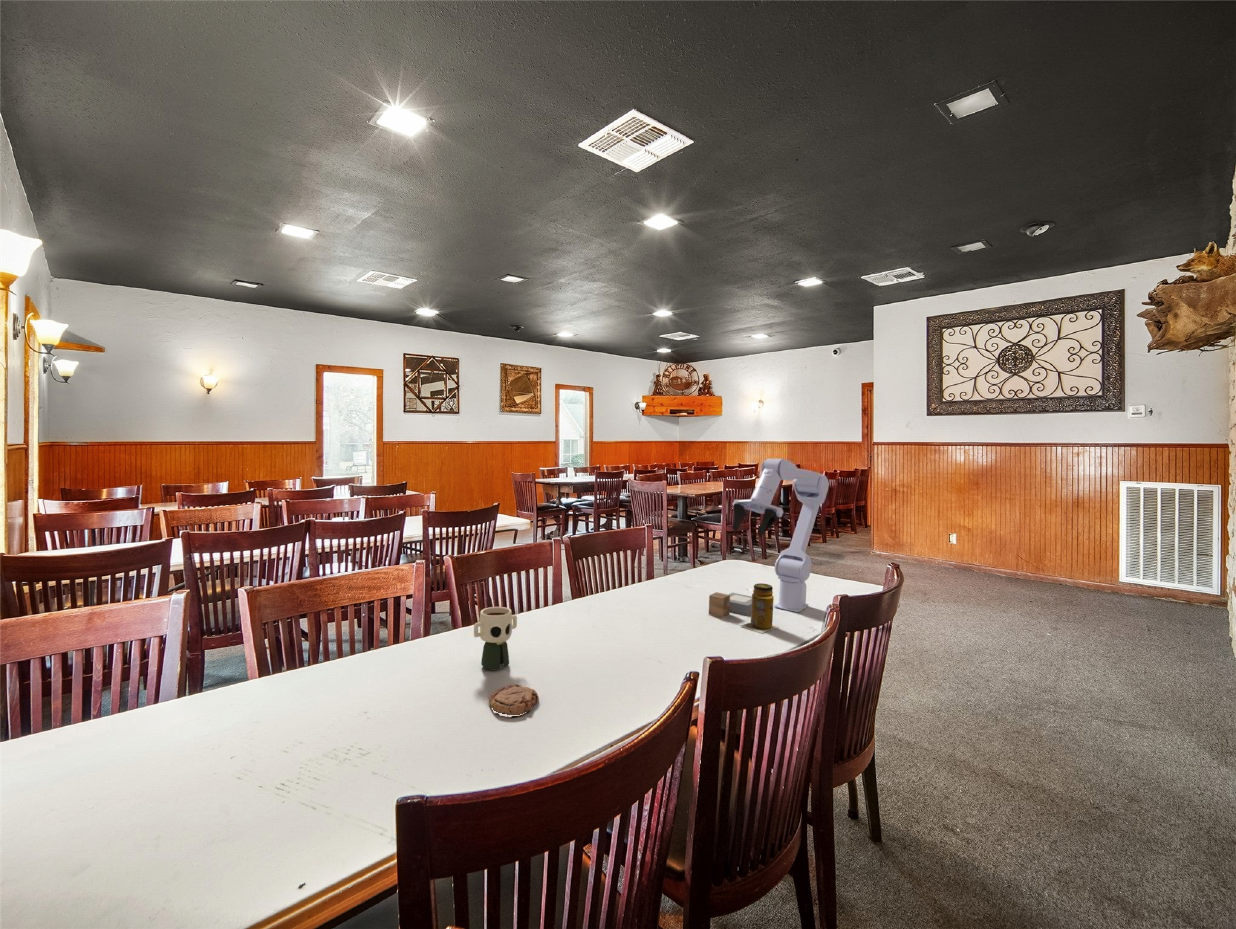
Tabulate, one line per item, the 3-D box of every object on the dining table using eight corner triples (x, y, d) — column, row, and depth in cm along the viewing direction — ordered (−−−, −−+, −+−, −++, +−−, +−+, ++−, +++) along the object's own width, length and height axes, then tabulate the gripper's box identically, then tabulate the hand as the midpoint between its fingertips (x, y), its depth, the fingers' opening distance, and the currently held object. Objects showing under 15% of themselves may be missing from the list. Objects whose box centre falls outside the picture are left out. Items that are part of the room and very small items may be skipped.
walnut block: (715, 611, 182) (716, 592, 181) (729, 614, 179) (730, 594, 178) (708, 614, 178) (709, 595, 178) (722, 618, 175) (723, 598, 175)
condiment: (778, 627, 168) (780, 585, 168) (762, 633, 162) (763, 591, 162) (756, 620, 173) (758, 580, 173) (739, 626, 168) (741, 585, 167)
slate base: (732, 601, 192) (732, 592, 192) (760, 607, 186) (761, 598, 186) (717, 608, 184) (718, 598, 184) (747, 615, 178) (747, 605, 178)
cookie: (490, 721, 110) (490, 706, 110) (487, 696, 121) (487, 682, 121) (542, 716, 113) (543, 701, 113) (535, 692, 123) (536, 678, 123)
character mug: (481, 677, 129) (481, 619, 128) (466, 667, 134) (466, 611, 133) (523, 665, 136) (524, 610, 135) (508, 656, 141) (509, 603, 141)
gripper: (737, 481, 172) (719, 519, 166) (784, 489, 163) (767, 529, 158) (744, 495, 177) (726, 532, 171) (790, 503, 168) (773, 543, 162)
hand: (746, 532), depth 165 cm, fingers open, 7 cm apart
